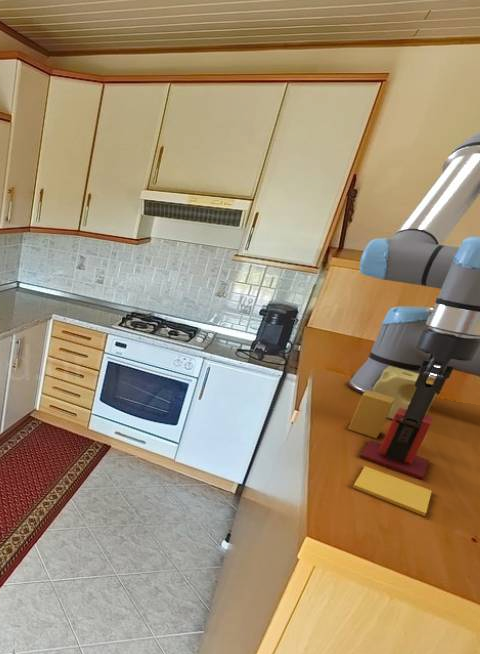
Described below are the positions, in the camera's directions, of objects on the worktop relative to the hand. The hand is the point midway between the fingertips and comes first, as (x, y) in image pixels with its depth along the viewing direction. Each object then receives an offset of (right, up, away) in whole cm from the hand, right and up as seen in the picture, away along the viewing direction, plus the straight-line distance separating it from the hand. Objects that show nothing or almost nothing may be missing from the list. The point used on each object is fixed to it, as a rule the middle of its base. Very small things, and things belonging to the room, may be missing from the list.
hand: (396, 453), depth 90 cm
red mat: (0, -1, 0) cm, 2 cm away
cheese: (+20, +5, +23) cm, 31 cm away
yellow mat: (-10, -4, -10) cm, 15 cm away
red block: (0, 0, 0) cm, 0 cm away
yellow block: (+4, +3, +12) cm, 13 cm away
